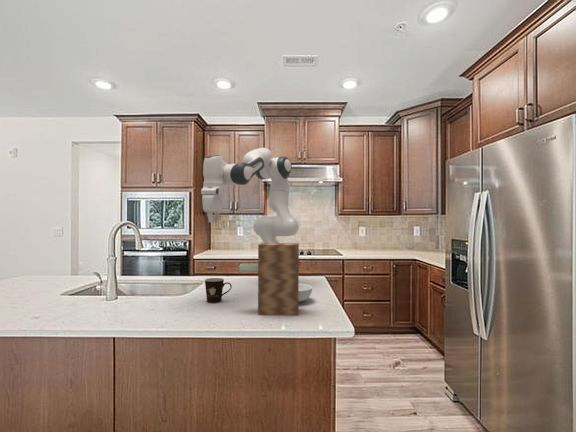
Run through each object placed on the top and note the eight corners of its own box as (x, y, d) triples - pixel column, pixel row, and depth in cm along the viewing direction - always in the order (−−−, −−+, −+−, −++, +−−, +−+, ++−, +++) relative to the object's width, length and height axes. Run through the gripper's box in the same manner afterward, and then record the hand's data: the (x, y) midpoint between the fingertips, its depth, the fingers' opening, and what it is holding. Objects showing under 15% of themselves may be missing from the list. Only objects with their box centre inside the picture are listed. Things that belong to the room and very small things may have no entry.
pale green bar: (239, 272, 145) (239, 265, 145) (241, 270, 149) (241, 263, 149) (293, 272, 144) (293, 265, 144) (293, 270, 148) (293, 264, 148)
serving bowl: (309, 308, 152) (309, 292, 152) (262, 305, 156) (262, 289, 156) (315, 297, 173) (315, 283, 173) (273, 295, 177) (273, 281, 177)
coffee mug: (200, 302, 161) (200, 280, 161) (212, 298, 169) (213, 277, 169) (220, 305, 156) (221, 282, 156) (232, 301, 163) (232, 279, 163)
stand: (258, 314, 142) (258, 244, 141) (261, 308, 152) (261, 242, 151) (298, 315, 141) (298, 245, 141) (298, 308, 151) (298, 243, 151)
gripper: (212, 192, 170) (212, 221, 170) (199, 189, 149) (199, 222, 149) (225, 192, 169) (225, 221, 169) (214, 189, 149) (214, 222, 149)
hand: (213, 221), depth 159 cm, fingers open, 8 cm apart
